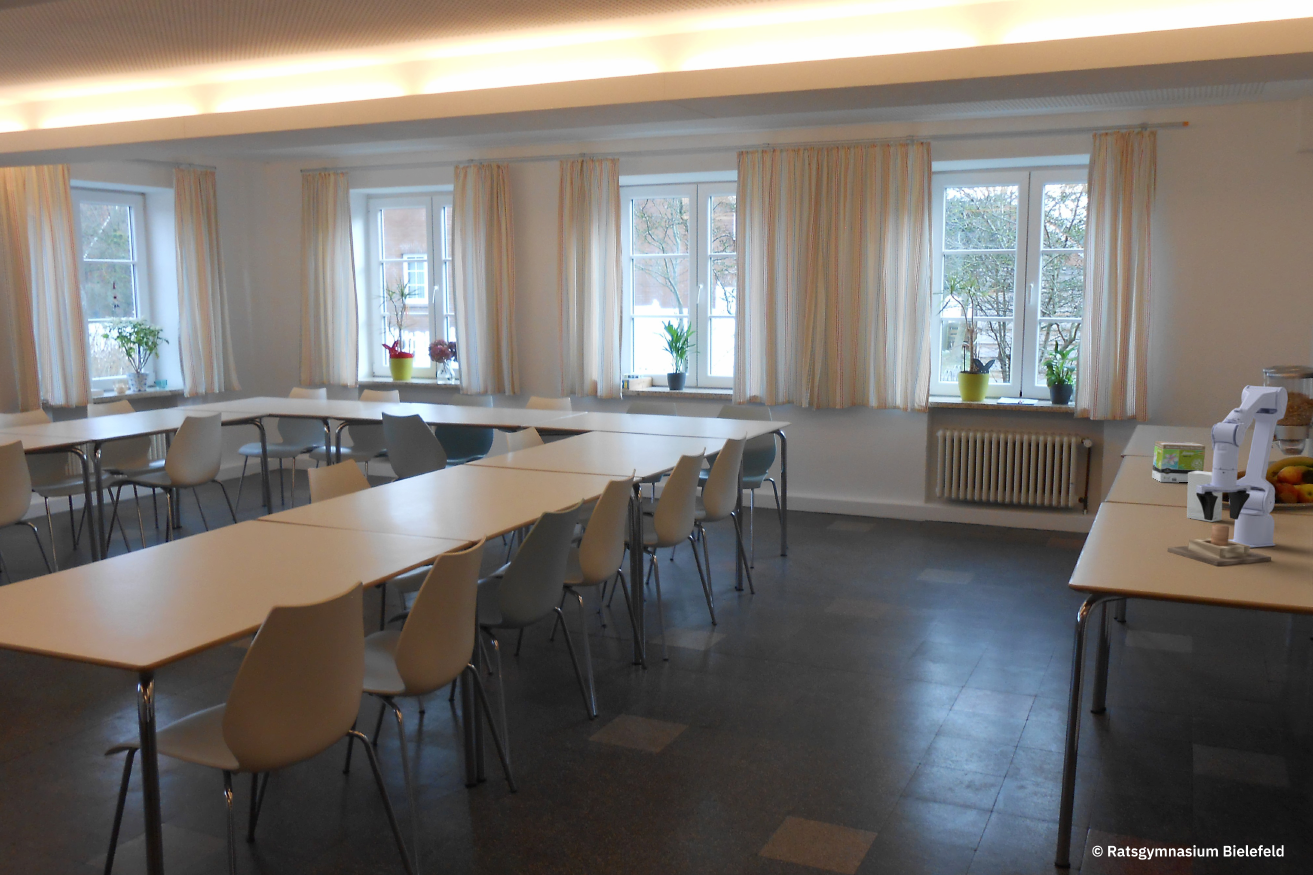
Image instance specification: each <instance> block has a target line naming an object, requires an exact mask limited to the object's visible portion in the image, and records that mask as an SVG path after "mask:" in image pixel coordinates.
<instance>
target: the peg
mask: <svg viewBox="0 0 1313 875" xmlns="http://www.w3.org/2000/svg"><path fill="white" fill-rule="evenodd" d="M1210 533H1211V534H1210V538H1211V544H1213V545H1217V546H1228V540H1229V535H1230V526H1228V525H1225V524H1211V532H1210Z"/></svg>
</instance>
